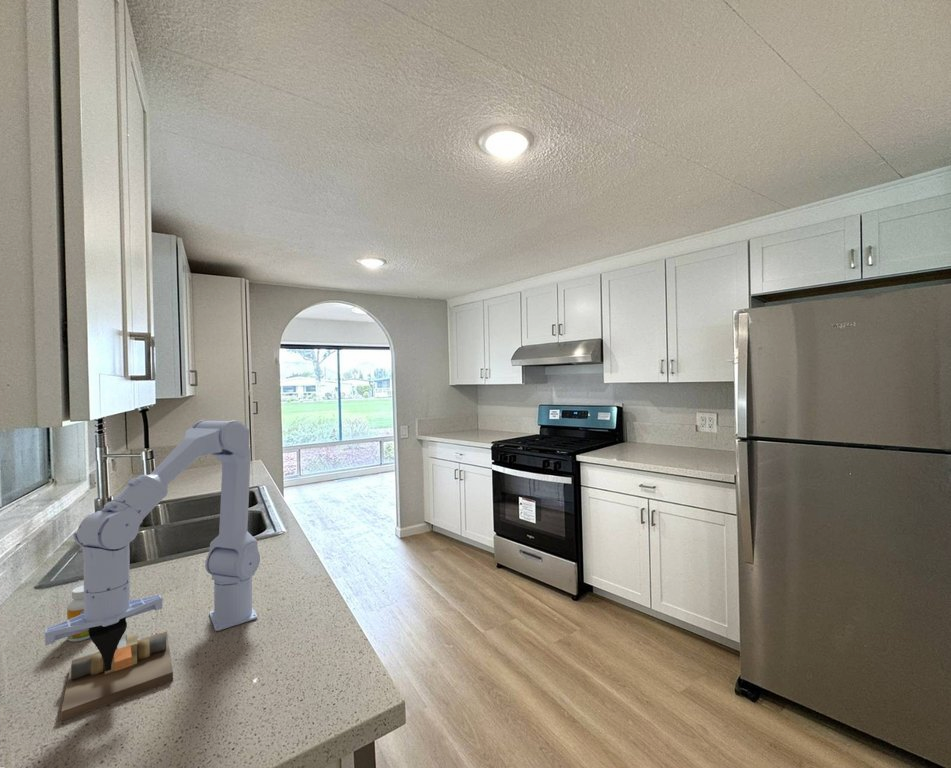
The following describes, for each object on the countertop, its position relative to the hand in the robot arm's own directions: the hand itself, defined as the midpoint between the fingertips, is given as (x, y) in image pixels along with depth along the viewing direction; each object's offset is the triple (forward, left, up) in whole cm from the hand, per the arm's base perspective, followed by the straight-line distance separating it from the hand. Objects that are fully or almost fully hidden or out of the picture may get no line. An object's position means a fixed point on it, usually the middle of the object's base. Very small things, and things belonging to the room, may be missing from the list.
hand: (107, 667), depth 70 cm
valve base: (-7, +2, -5) cm, 9 cm away
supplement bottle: (-27, -4, -5) cm, 28 cm away
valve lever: (-3, +2, 0) cm, 3 cm away
